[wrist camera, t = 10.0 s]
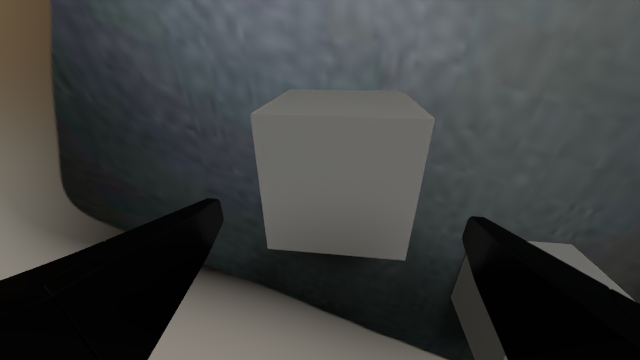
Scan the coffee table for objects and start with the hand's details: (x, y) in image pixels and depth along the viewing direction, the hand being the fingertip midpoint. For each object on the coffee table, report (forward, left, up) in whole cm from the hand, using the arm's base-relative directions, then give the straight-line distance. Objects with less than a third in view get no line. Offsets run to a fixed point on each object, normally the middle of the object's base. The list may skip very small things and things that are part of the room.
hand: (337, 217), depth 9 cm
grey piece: (0, 0, -8) cm, 8 cm away
